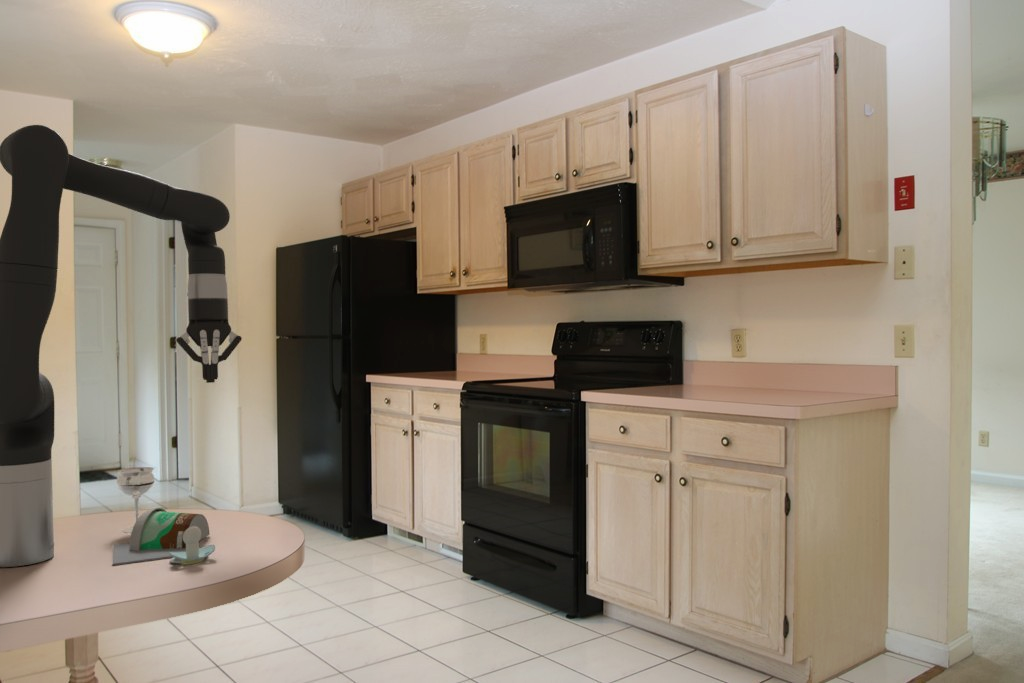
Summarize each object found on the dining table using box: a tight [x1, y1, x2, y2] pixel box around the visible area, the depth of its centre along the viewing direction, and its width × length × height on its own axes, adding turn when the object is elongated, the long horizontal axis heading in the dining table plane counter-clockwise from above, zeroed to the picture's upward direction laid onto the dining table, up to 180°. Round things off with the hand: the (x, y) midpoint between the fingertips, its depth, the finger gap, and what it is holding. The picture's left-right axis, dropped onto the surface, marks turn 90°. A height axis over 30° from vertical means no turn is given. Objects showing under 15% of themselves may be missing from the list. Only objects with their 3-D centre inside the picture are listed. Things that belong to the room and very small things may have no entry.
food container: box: [129, 507, 210, 551], centre depth 144 cm, size 12×6×10 cm
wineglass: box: [116, 466, 155, 534], centre depth 156 cm, size 7×7×12 cm
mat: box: [112, 542, 201, 566], centre depth 140 cm, size 14×14×1 cm
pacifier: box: [168, 526, 216, 565], centre depth 132 cm, size 7×6×6 cm
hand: (210, 382), depth 158 cm, fingers closed
